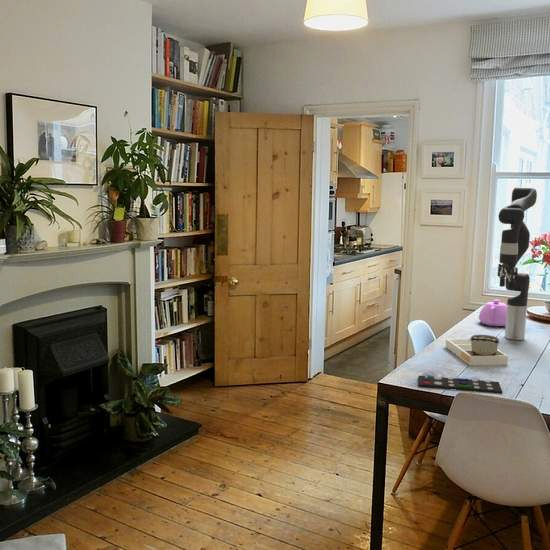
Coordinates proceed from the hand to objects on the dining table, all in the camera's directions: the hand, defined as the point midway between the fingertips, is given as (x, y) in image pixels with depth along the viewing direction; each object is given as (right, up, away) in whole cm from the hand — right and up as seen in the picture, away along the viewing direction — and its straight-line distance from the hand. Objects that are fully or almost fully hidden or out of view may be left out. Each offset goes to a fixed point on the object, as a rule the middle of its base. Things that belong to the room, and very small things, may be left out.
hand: (506, 288), depth 273 cm
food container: (-13, -31, -9) cm, 35 cm away
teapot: (+18, -22, +58) cm, 64 cm away
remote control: (-34, -38, -41) cm, 66 cm away
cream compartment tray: (-15, -31, -1) cm, 34 cm away
